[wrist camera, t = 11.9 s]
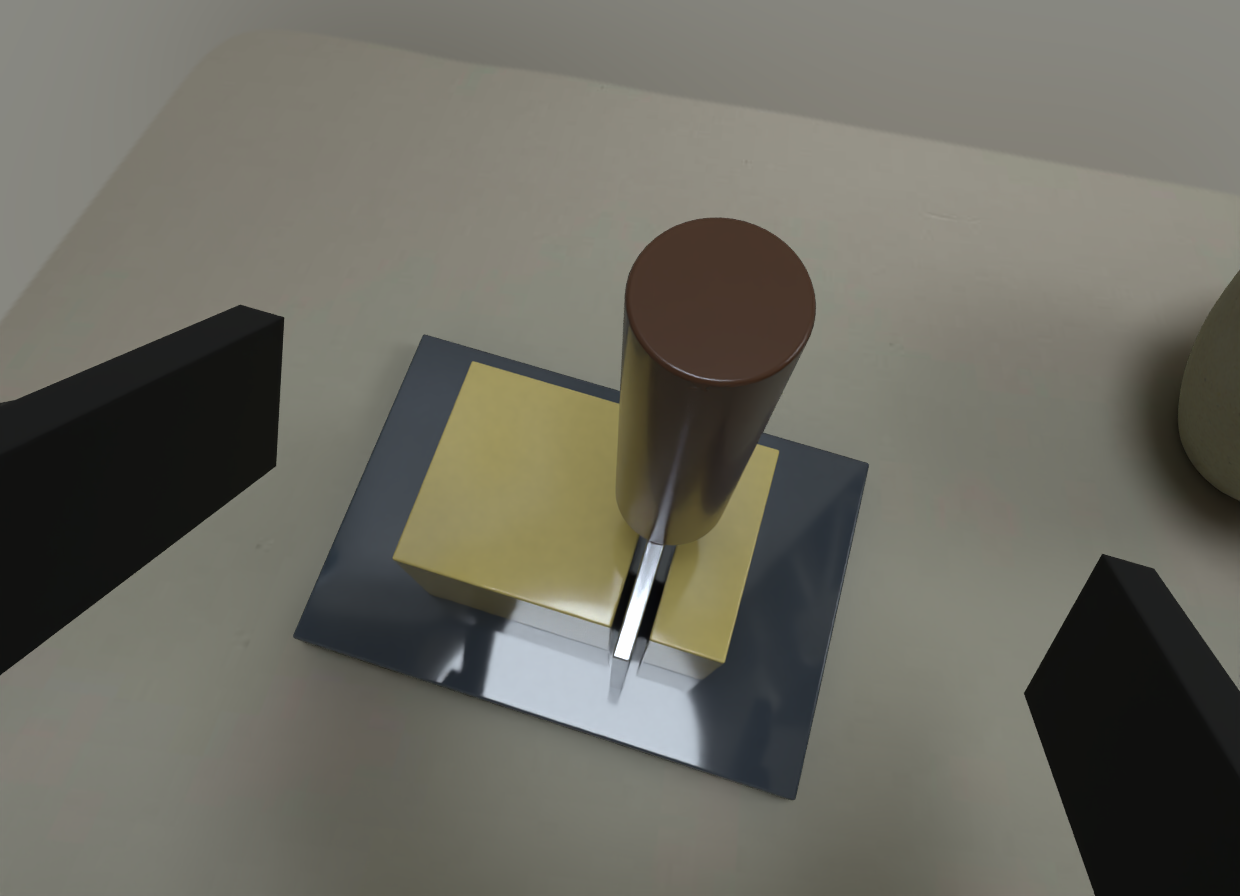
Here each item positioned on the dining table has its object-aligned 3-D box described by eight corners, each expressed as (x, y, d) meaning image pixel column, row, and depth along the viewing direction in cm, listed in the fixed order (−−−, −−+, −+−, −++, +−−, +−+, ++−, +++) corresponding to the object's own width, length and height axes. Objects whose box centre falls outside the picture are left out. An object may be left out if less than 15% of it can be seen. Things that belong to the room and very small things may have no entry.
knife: (574, 675, 26) (533, 545, 10) (648, 441, 29) (705, 51, 13) (656, 701, 26) (741, 610, 10) (723, 463, 29) (874, 95, 13)
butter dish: (301, 641, 28) (224, 611, 22) (428, 345, 31) (389, 254, 26) (788, 800, 26) (839, 810, 21) (861, 471, 30) (922, 405, 24)
